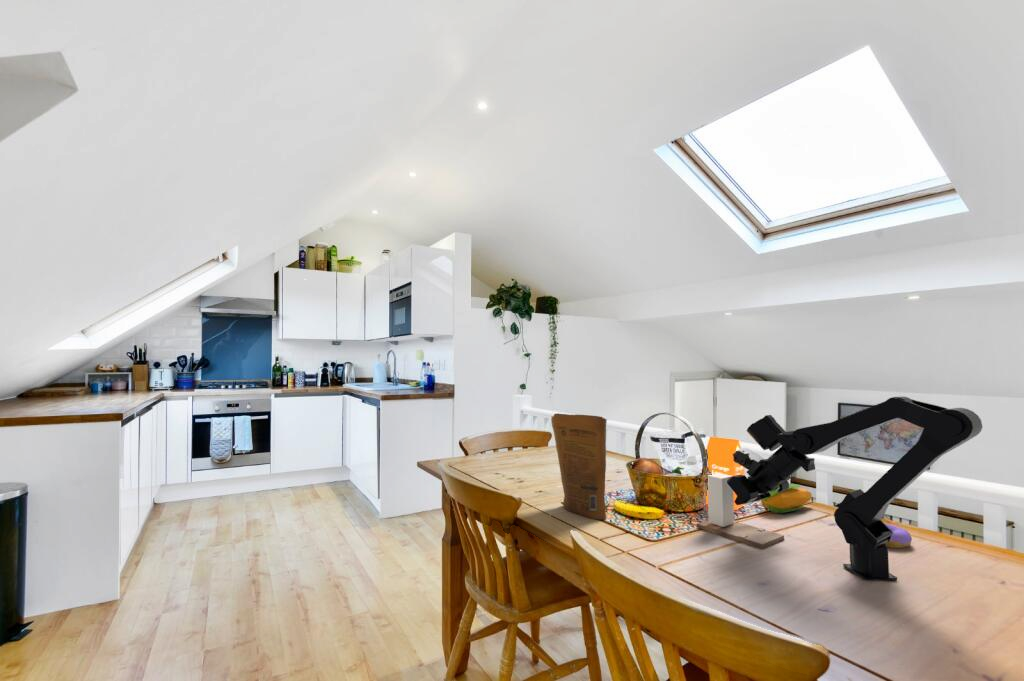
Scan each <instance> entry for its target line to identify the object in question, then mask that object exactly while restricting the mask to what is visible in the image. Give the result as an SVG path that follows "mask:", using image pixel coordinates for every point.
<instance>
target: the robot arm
mask: <svg viewBox="0 0 1024 681" xmlns="http://www.w3.org/2000/svg"><path fill="white" fill-rule="evenodd" d="M898 419H900V420H903V421H906V422H908V423H910V424H912V425H915V426H916V427H919V428H922V431H921V433H920V435H919V438H918V439H917V442H916V443H915V444H914V445H913V446H912V447H911V448H910V449H909V450H907V452H906V453H905V454H904V455H903V456H902V457H900V459H898V460H897V462H896V463H895V464H893V465H892V466H891V467H890V468H889V469H888V470H887V471H886V472H885V473H884V474H883V475H882V476H880V478H878V480H877V481H876V482H875V483H873V485H871V486H870V488H868V490H866V491H865V492H864V491H863V490H862V489H861V488H859V489H855V490H853V491H850V492H848V493H847V494H846V495H845V497H843V500H842V501H841V502H840V503H837V504H835V505H834V507H835V508H836V509H835V511H834V512H833V517H834V521H835V524H836V525H837V528H839V529H840V530H841V532H842V534H843V537H844V540H845V543H846V544H848V545H849V563H843V566H842V567H844V568H845V569H847V570H848V571H850V572H851V573H853V574H855V575H856V576H858V577H860V578H861V579H862V580H865V581H897V580H898V577H897V576H895V575H894V574H893V573H891V572H890V570H889V569H890V567H889V566H890V564H889V562H890V561H889V547H886V544H884V543H886V542H889V541H890V540H891V537H892V535H893V532H892V531H891V530H890V529H889V528H888V527H887V526H886V525H885V524H886V523H885V522H884V521H883V520H882V519H883V517H884V515H885V514H886V512H887V510H888V507H889V505H890V504H891V503H892V502H893V501H894V500H895V499H896V498H897V497H899V495H901V493H903V492H904V491H906V489H907V488H908V487H909V486H911V484H913V483H914V482H915V481H916V480H917V479H918V478H920V476H921V475H923V473H925V472H926V471H927V470H928V469H929V468H930V467H931V466H933V465H934V464H935V462H937V461H938V460H939V459H940V458H941V457H942V456H944V455H945V454H947V453H949V452H951V451H953V450H954V449H956V448H959V447H960V446H961V445H963V444H965V443H966V442H968V441H970V440H972V439H974V438H975V437H977V436H978V435H979V434H980V433H981V432H982V430H983V423H982V420H981V418H980V416H979V415H978V414H977V413H975V412H974V411H972V410H971V409H969V408H965V407H952V408H951V407H950V408H947V407H944V406H940V405H936V404H932V403H928V402H924V401H919V400H915V399H912V398H910V397H907V396H902V395H899V396H893V397H889V398H887V399H886V400H885V401H883V402H879V403H877V404H875V405H872V406H870V407H867V408H864V409H862V410H859V411H857V412H855V413H852V414H849V415H847V416H845V417H844V416H843V417H842V418H839V419H836V420H834V421H831V422H827V423H821V424H816V425H811V426H806V427H801V428H797V429H795V430H790V431H786V430H785V428H783V427H782V426H781V425H780V424H779V423H778V421H776V419H775V417H773V415H771V414H766V415H764V416H763V417H762V418H760V419H758V420H757V421H755V422H754V423H751V424H750V425H749V426H748V427H747V429H746V432H747V434H748V435H750V437H752V439H753V440H754V441H755V442H756V444H758V445H759V447H761V449H762V450H763V451H766V450H767V451H768V450H769V451H770V452H773V451H775V450H776V451H775V452H774V453H772V454H771V455H770V456H769V457H768V458H763V457H762V456H761V455H760V454H759V453H756V452H755V451H754V450H752V449H750V448H748V447H741V449H738V450H737V451H736V452H735V453H733V461H734V462H736V463H738V464H739V465H741V466H743V467H744V469H746V470H747V471H746V473H747V475H748V476H746V475H740V474H739V475H735V476H732V477H730V478H729V479H728V480H727V484H728V485H729V486H730V487H731V489H732V490H733V491H734V492H735V494H736V495H737V497H736V499H735V501H734V502H735V504H736V505H741V504H745V505H746V504H749V503H754V502H757V501H761V499H764V498H768V497H770V496H771V495H770V493H769V492H772V491H775V490H777V489H778V488H779V487H780V489H779V490H777V492H778V494H779V493H783V492H785V491H786V490H787V489H788V488H789V484H790V483H789V480H790V479H791V478H792V477H791V476H792V475H793V474H795V473H797V471H799V470H800V469H801V468H802V469H803V470H804V471H805V472H811V471H815V470H816V464H815V458H812V457H809V456H807V455H814V454H817V453H821V452H822V453H823V452H824V451H826V450H829V449H830V448H832V447H833V446H835V445H836V444H839V443H840V442H841V441H843V440H844V439H846V438H848V437H850V436H853V435H856V434H858V433H862V432H864V431H867V430H869V429H873V428H875V427H878V426H881V425H884V424H887V423H889V422H892V421H895V420H898ZM778 486H779V487H778Z"/></svg>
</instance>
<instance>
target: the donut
mask: <svg viewBox="0 0 1024 681" xmlns="http://www.w3.org/2000/svg"><path fill="white" fill-rule="evenodd" d="M884 524H885V525H886V526H887V527H888V528H889V529H890V530H891V531H892V532H893V535H892V537H891V540H890V541H889V542H886V543H884V544H886V547H887V548H890V547H891V548H892V549H903V548H907V547H909V546H910V545H911V543H912V540H913V538H912V535H911V533H910V532H909V531H908V530H907V529H906V528H903V527H900V526H897V525H894V524H893V525H892V524H888V523H884ZM891 548H890V549H891Z"/></svg>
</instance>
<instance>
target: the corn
mask: <svg viewBox="0 0 1024 681" xmlns="http://www.w3.org/2000/svg"><path fill="white" fill-rule="evenodd" d="M778 487H779V486H778ZM798 487H800V484H794V483H793V484H790V483H789V488H788V489H787V490H786V491H785V492H783V493H779V494H778V492H777V490H779V489H780V487H779V488H778V489H777V490H775V491H772V492H769V493H770V495H771V496H770V497H768V498H764V499H761V500H760V502H761V505H762V506H763V508H764V509H765V510H766V511H768V510H767V509H769V510H770V511H769V512H772V513H774V514H782V513H784V514H785V513H788V512H789V513H790V512H794V511H798V510H801V509H804V505H806V504H807V503H809V501H810V500H812V498H813V495H812V492H811V491H809V490H808V489H805V488H798Z"/></svg>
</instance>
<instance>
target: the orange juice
mask: <svg viewBox="0 0 1024 681" xmlns="http://www.w3.org/2000/svg"><path fill="white" fill-rule="evenodd" d="M706 449H707V453H708V467H709V470H710V471H711V474H717V473H721V474H726V475H731V476H735V475H739V474H740V475H745V474H746V473H745V467H743V466H741V465H739V464H738V463H736V462H734V461H733V453H735V452H736V451H737V450H738V449H742V447H741V444H740V440H739V439H737V438H736V439H735V438H726V437H719V436H718V437H717V436H709V439H708V442H707V447H706ZM745 476H746V475H745ZM736 497H737V495H736V494H735V492H734V501H735V499H736ZM706 503H707V504H708V490H707V496H706ZM743 505H745V506H746V504H741V505H736V504H735V502H734V510H735V509H737V508H739V507H742V506H743Z"/></svg>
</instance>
